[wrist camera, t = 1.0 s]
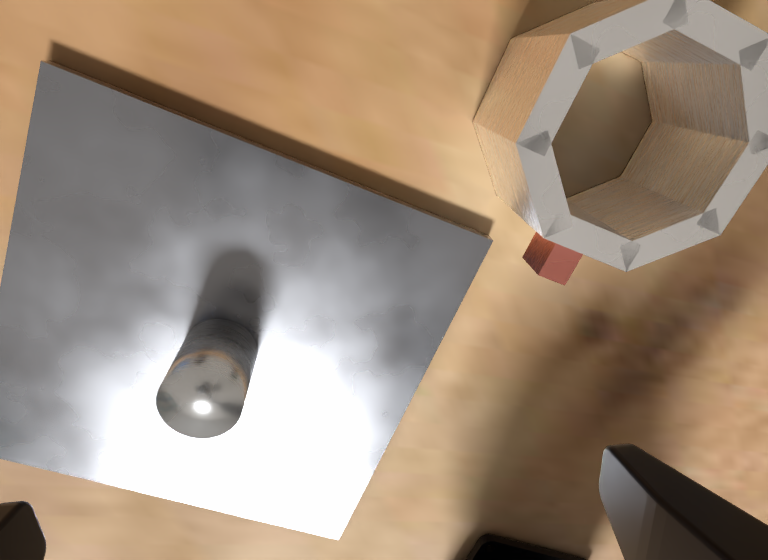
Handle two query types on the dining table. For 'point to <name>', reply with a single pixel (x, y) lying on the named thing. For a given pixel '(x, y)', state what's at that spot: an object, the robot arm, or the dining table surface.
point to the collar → (658, 146)
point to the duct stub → (211, 311)
